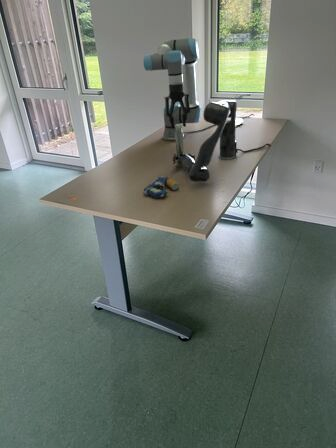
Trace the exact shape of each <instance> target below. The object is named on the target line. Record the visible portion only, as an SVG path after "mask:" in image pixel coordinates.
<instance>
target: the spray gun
mask: <svg viewBox="0 0 336 448" xmlns="http://www.w3.org/2000/svg"><path fill="white" fill-rule="evenodd" d="M166 186H167V187H168V188H170V189H171V190H172V191H176V190H178V188H179V186H180V184H179V182H177V181H175V179H172V178H168V176H167V175H164V176H163V175H162V176H160V175H157V176H156V178H155V179H154V180H153V181H152V182H150V184H148V185H147V186H145V188H144V189H143V195H146V196H151V197H153V198H155V199H160V198H165V197H166V196H167V194H168V190H166V188H165V187H166Z"/></svg>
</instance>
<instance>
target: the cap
mask: <svg viewBox="0 0 336 448" xmlns="http://www.w3.org/2000/svg"><path fill="white" fill-rule="evenodd" d="M175 128H176V129H180V128H181V129H182V128H183V123H182V124H176V125H175Z"/></svg>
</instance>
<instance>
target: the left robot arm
mask: <svg viewBox="0 0 336 448" xmlns="http://www.w3.org/2000/svg"><path fill="white" fill-rule="evenodd" d="M199 51H200V50H199V45H198V41H197V39H196V38H190V37H188V38H179V39H178V38H177V39H171V40H168V41H164V42H163V43H162V44H160V45H159V46H158V47H157V50H156V51H155V52H154V53H153V54H148V55H144V56H143V67H144V70H145V71H150V72H152V71H164V70H167V77H168V91H169V94H168V96H163V99H164V103H165V104H164V105H165V107H164V108H163V121H164V130H163V135H162V139H163V140H164V141H167V142H176V138H175V133H176V128H175V125H176V124H182V127H185V128H186V127H187V124H198V123H199V122H200V120H201V114H202V113H201V112H202V105H200V104H199V103H200V102H198V101H197V87H196V86H197V85H196V67H195V66H196V63H198V59H200V52H199ZM251 116H255V115H254V113H251V114H249V115H247V116H242V117H240V118H241V119H245V118H249V117H251ZM229 120H230V119H227V121H229ZM227 121H226V122H227ZM214 126H216V125H215V124H211V125H210V126H207V127H204V128H202V129H199V130H193V131H184V132H183V129H182V128H181V130H182V133H183V138H184V137H185V136H184V134H191V133H198V132H202V131H205V130H207V129H209V128H212V127H214Z"/></svg>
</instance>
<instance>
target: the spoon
mask: <svg viewBox="0 0 336 448" xmlns="http://www.w3.org/2000/svg"><path fill="white" fill-rule="evenodd" d="M243 122H244V120H243V118H241V117H236V127H237V126H239V125H241V124H243Z"/></svg>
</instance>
